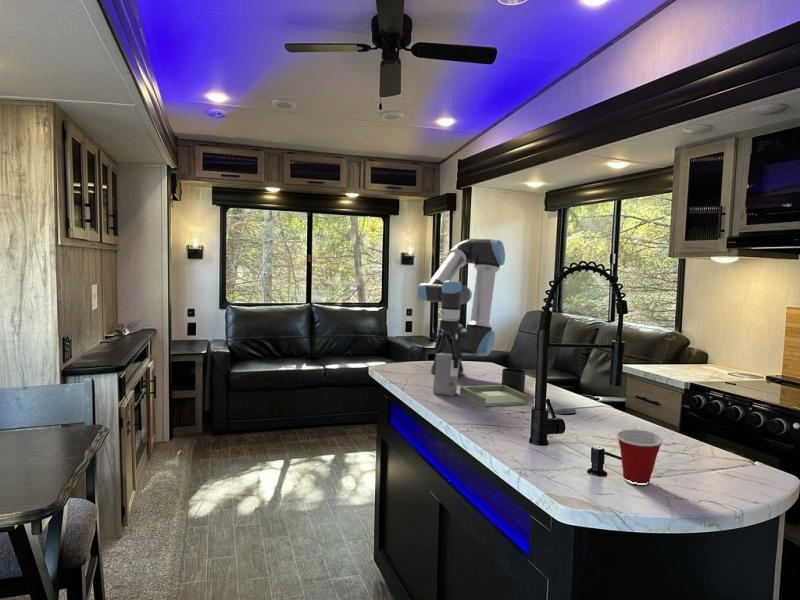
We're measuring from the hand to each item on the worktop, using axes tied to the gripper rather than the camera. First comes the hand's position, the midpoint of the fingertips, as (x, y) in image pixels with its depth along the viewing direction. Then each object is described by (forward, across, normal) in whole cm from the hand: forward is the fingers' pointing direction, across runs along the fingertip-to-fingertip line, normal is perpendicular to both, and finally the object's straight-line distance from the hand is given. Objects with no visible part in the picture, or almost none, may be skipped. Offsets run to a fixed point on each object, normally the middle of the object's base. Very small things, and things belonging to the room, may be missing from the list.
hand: (446, 372), depth 214 cm
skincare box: (+8, 0, 0) cm, 9 cm away
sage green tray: (+8, +12, +15) cm, 21 cm away
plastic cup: (+10, +90, +10) cm, 91 cm away
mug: (+8, +1, +30) cm, 31 cm away
